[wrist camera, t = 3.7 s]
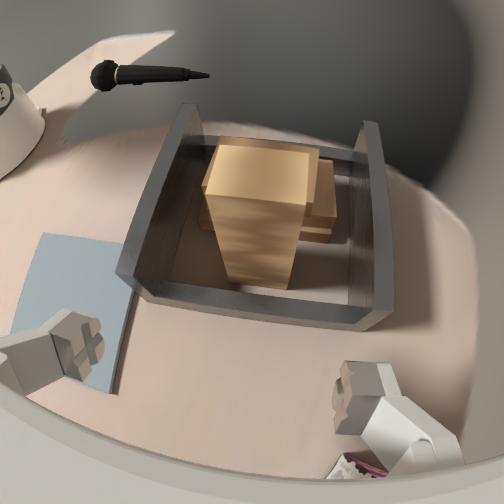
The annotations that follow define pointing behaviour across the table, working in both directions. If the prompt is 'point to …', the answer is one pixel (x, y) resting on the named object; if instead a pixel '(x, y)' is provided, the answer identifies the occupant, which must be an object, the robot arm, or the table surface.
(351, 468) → the candy bar box
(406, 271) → the table surface
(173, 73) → the microphone
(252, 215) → the tan wooden block
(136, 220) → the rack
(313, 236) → the offcut stack
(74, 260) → the slate mat
